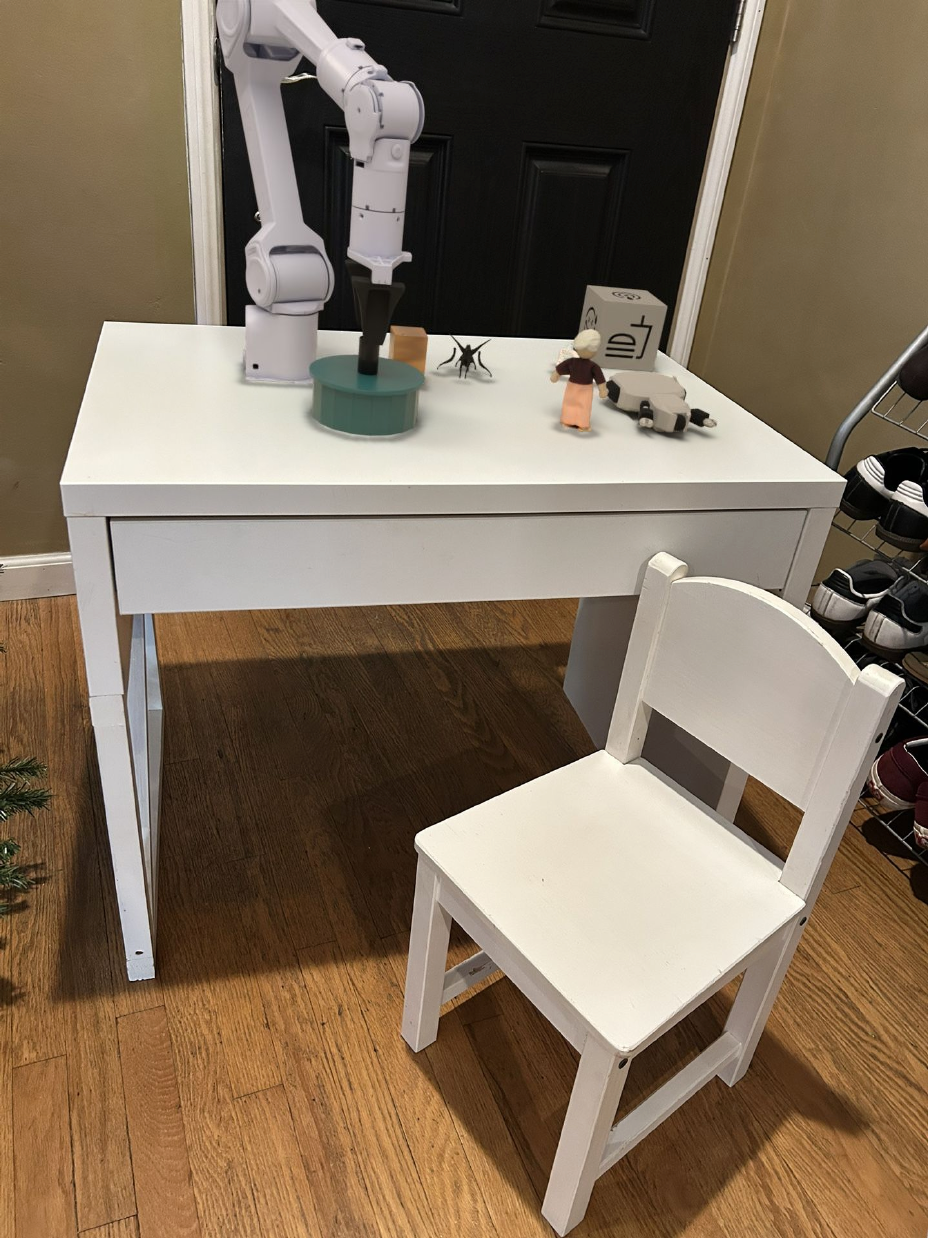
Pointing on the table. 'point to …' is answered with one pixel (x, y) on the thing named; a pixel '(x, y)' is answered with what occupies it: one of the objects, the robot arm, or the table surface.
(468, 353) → the creature
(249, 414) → the table surface
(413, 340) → the maple block
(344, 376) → the pot lid
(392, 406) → the pot
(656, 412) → the robot toy
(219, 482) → the table surface
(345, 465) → the table surface
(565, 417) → the grandmother figurine
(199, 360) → the table surface
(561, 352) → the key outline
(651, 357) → the icon cube
